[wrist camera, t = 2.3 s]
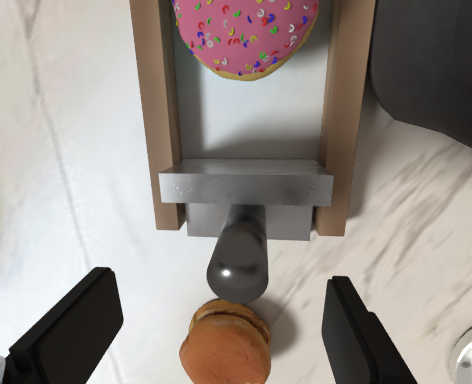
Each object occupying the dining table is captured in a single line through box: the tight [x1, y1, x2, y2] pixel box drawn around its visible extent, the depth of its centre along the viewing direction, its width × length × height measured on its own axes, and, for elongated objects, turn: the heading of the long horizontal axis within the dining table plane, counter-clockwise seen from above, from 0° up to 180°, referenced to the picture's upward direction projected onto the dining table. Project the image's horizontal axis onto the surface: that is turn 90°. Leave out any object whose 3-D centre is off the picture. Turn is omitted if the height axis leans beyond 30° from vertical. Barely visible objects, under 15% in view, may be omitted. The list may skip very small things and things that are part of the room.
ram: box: [159, 159, 334, 303], centre depth 17 cm, size 11×7×10 cm, turn 91°
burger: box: [179, 299, 271, 384], centre depth 25 cm, size 10×9×5 cm
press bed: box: [129, 0, 375, 236], centre depth 16 cm, size 16×24×6 cm, turn 1°
